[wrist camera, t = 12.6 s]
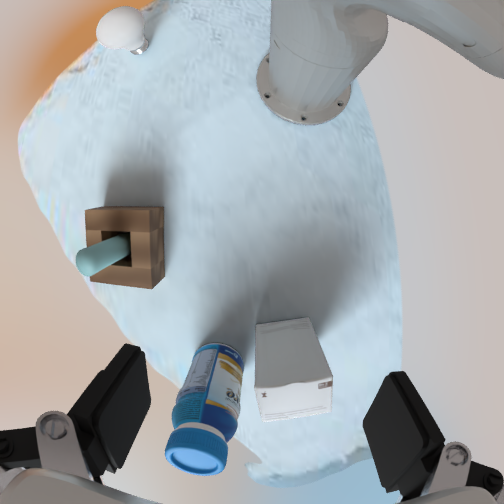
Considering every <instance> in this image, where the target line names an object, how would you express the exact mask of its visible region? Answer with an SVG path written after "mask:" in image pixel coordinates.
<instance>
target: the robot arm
mask: <svg viewBox="0 0 504 504" xmlns="http://www.w3.org/2000/svg"><path fill="white" fill-rule="evenodd" d="M387 15H389V16H392V17H394V18H396V19H398V20H400V21H402V22H406V23H408V24H410V25H412V26H414V27H416V28H418V29H420V30H421V31H423V32H425V33H427V34H429V35H430V36H432V37H434V38H435V39H437V40H439V41H440V42H442V43H443V44H445V45H447V46H448V47H450V48H451V49H453V50H454V51H456V52H457V53H459V54H460V55H462V56H463V57H465V58H466V59H467V60H469V61H470V62H472V63H473V64H475V65H476V66H478V67H479V68H480V69H482V70H484V71H485V72H488V73H489V74H491V75H493V76H496V77H499V78H502V79H504V0H271V24H270V51H269V54H267V55H266V56H265V57H264V59H263V60H262V61H261V63H260V65H259V68H258V71H257V77H256V79H257V88H258V92H259V95H260V97H261V99H262V101H263V102H264V104H265V105H266V106H267V107H268V108H269V109H270V110H271V111H272V112H273V113H274V114H276V115H277V116H278V117H280V118H282V119H284V120H286V121H288V122H292V123H295V124H300V125H317V124H322V123H325V122H327V121H330V120H332V119H333V118H335V117H336V116H337V115H338V114H340V113H341V112H342V111H343V109H344V108H345V107H346V105H347V103H348V101H349V98H350V93H351V82H352V81H353V80H354V79H355V78H356V77H357V76H358V75H359V74H360V72H361V71H362V70H363V69H364V68H365V67H366V66H367V65H368V64H369V62H370V61H371V60H372V59H373V58H374V57H375V56H376V55H377V53H378V52H379V51H380V50H381V49H382V47H383V46H384V43H385V41H386V38H387V34H388V19H387ZM268 62H269V63H268ZM266 96H269V98H266ZM338 104H340V106H338ZM301 118H305V121H303V120H302V119H301ZM150 405H151V396H150V390H149V383H148V376H147V368H146V359H145V353H144V352H143V351H141V348H140V347H138V346H134V345H130V344H124V346H123V347H122V348H121V349H120V350H119V352H118V353H117V354H116V355H115V357H114V358H113V359H112V361H111V362H110V363H109V364H108V366H107V367H106V369H105V370H101V371H100V372H99V373H98V374H97V375H96V377H95V378H94V379H93V380H92V382H91V383H90V384H89V386H88V387H87V388H86V390H85V391H84V392H83V394H82V395H81V396H80V398H79V399H78V400H77V402H76V403H75V404H74V406H73V407H72V408H71V410H70V411H69V412H68V414H67V415H66V414H64V413H63V412H59V411H50V412H46V413H44V414H42V415H41V416H40V417H39V418H38V419H37V422H36V427H29V428H22V429H13V430H3V431H0V504H161V503H158V502H154V501H150V500H147V499H143V498H140V497H137V496H134V495H131V494H127V493H124V492H122V491H119V490H116V489H113V488H111V487H108V486H106V485H105V483H104V481H103V478H102V476H101V475H103V474H104V472H105V470H107V471H109V472H112V473H114V474H115V472H116V470H117V468H119V469H121V468H122V466H123V464H124V462H125V460H126V457H127V455H128V453H129V451H130V449H131V447H132V444H133V442H134V440H135V438H136V436H137V433H138V431H139V429H140V427H141V425H142V423H143V421H144V418H145V416H146V414H147V412H148V410H149V408H150ZM363 428H364V431H365V434H366V437H367V440H368V444H369V447H370V450H371V453H372V456H373V459H374V462H375V465H376V469H377V472H378V475H379V479H380V482H381V485H382V487H384V488H385V489H386V492H387V493H389V492H393V491H397V490H399V491H400V496H399V497H398V499H397V501H396V503H395V504H504V485H503V483H504V482H503V481H504V480H503V476H502V474H501V473H500V472H499V471H498V470H496V469H494V468H491V467H487V466H484V465H481V464H479V463H476V462H473V461H471V453H470V450H469V449H468V448H467V446H465V445H464V444H462V443H460V442H450V443H448V444H447V445H446V446H445V445H444V442H445V438H444V436H443V434H442V433H441V431H440V429H439V427H438V425H437V424H436V422H435V420H434V419H433V417H432V415H431V413H430V412H429V410H428V408H427V407H426V405H425V403H424V402H423V400H422V398H421V397H420V395H419V394H418V392H417V390H416V389H415V387H414V385H413V384H412V382H411V381H410V379H409V377H408V376H407V374H406V373H405V372H404V371H398V372H391V373H389V375H388V376H386V377H385V379H384V381H383V383H382V385H381V387H380V389H379V391H378V393H377V395H376V397H375V399H374V401H373V403H372V405H371V407H370V408H369V410H368V412H367V414H366V416H365V418H364V420H363Z"/></svg>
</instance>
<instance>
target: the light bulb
mask: <svg viewBox="0 0 504 504" xmlns="http://www.w3.org/2000/svg"><path fill="white" fill-rule="evenodd" d="M144 27H145V20H144V17H143V15H142V13H141V12H140V11H139V10H138V9H135V8H133V7H129V6H122V7H118V8H115V9H112V10H111V11H109V12H108V13H106V14H105V15H104V16H103V17H102V18H101V20H100V21H99V23H98V25H97V29H96V36H97V39H98V41H99V42H100V44H101V45H102V46H104V47H106V48H109V49H126V50H129V51H130V52H131V53H133V54H135V55H138V54H141V53H143V52H144V51H145V50H146V49H147V47H148V41H147V40H146V38H145V36H144V34H143V31H144Z"/></svg>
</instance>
